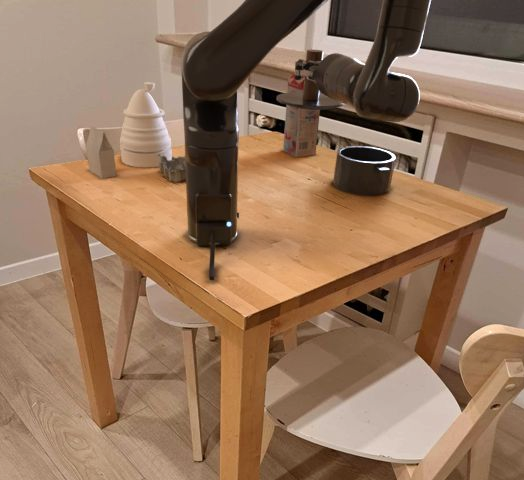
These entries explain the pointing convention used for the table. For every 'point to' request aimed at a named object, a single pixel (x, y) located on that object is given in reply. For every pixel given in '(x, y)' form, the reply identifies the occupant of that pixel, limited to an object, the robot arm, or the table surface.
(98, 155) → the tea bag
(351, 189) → the pot
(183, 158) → the egg carton
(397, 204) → the table surface
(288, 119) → the milk carton
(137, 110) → the honey pot
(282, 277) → the table surface
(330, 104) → the lid
